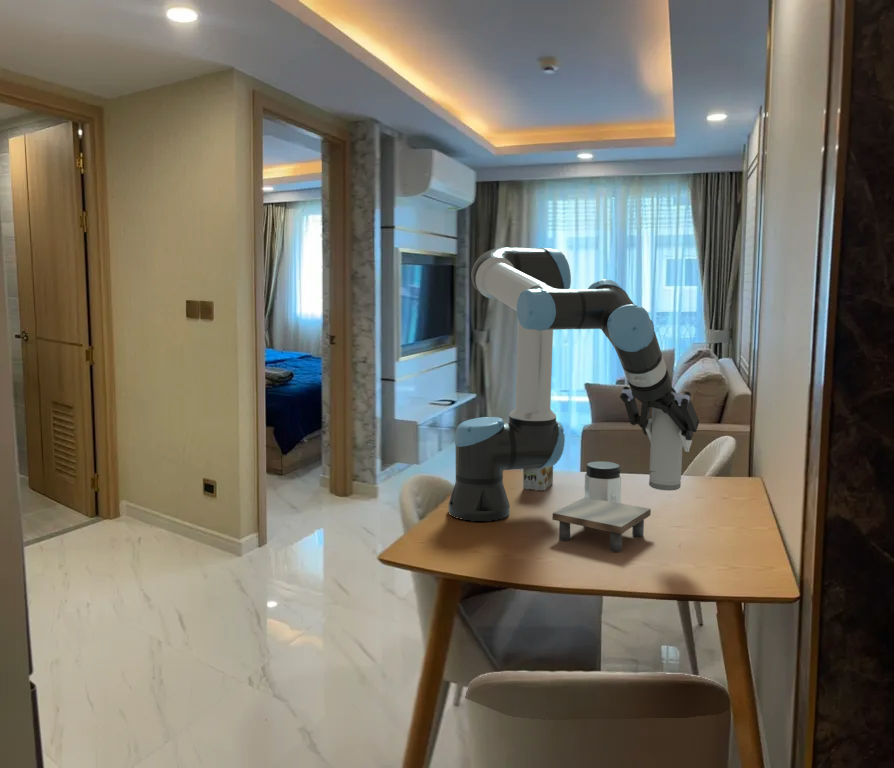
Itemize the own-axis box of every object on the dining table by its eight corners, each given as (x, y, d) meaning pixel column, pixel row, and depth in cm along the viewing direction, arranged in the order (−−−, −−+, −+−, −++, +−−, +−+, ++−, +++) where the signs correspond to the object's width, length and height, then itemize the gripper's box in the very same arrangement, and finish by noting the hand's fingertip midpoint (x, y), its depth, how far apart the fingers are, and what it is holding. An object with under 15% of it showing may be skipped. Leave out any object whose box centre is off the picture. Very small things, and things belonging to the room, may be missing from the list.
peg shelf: (552, 539, 159) (552, 513, 158) (584, 521, 171) (585, 497, 170) (620, 554, 149) (621, 526, 148) (649, 534, 162) (650, 508, 161)
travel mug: (642, 487, 149) (647, 391, 146) (657, 481, 154) (661, 388, 151) (671, 492, 145) (676, 394, 142) (685, 486, 150) (690, 391, 147)
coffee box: (544, 491, 198) (545, 434, 196) (522, 489, 200) (523, 432, 198) (553, 483, 206) (554, 428, 204) (531, 481, 209) (532, 427, 207)
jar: (601, 519, 173) (602, 470, 171) (577, 511, 180) (578, 464, 178) (627, 513, 178) (628, 465, 176) (603, 505, 185) (604, 459, 183)
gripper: (593, 385, 140) (623, 452, 155) (692, 393, 129) (714, 465, 144) (605, 356, 143) (633, 424, 159) (703, 362, 132) (723, 435, 147)
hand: (671, 444), depth 151 cm, fingers closed on travel mug, 6 cm apart
